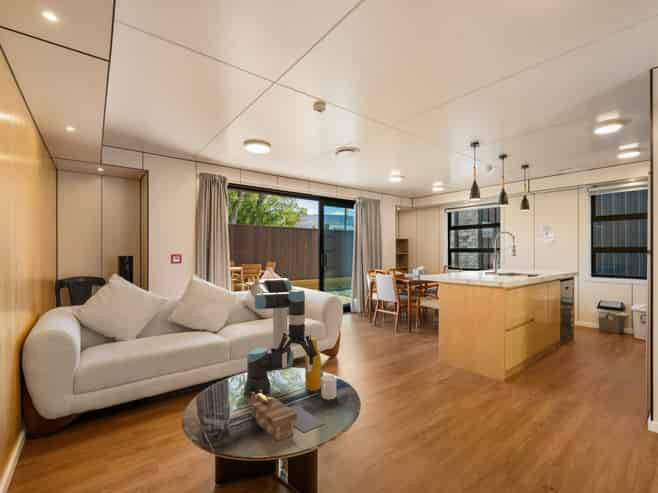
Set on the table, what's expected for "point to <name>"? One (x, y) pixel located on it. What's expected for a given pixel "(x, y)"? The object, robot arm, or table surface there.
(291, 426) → the toolbox
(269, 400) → the key
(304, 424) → the felt mat
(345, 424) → the table surface
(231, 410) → the table surface
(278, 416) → the lid
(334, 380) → the mug
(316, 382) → the beer bottle
